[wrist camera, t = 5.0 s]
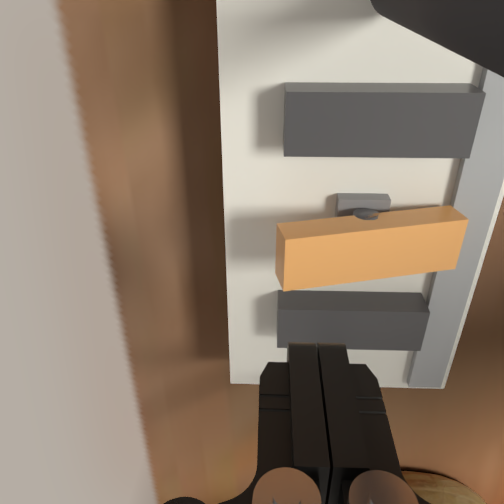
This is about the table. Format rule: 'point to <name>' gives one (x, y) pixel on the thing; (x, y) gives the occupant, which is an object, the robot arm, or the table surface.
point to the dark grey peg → (454, 26)
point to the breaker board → (350, 177)
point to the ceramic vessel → (440, 489)
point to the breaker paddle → (367, 246)
